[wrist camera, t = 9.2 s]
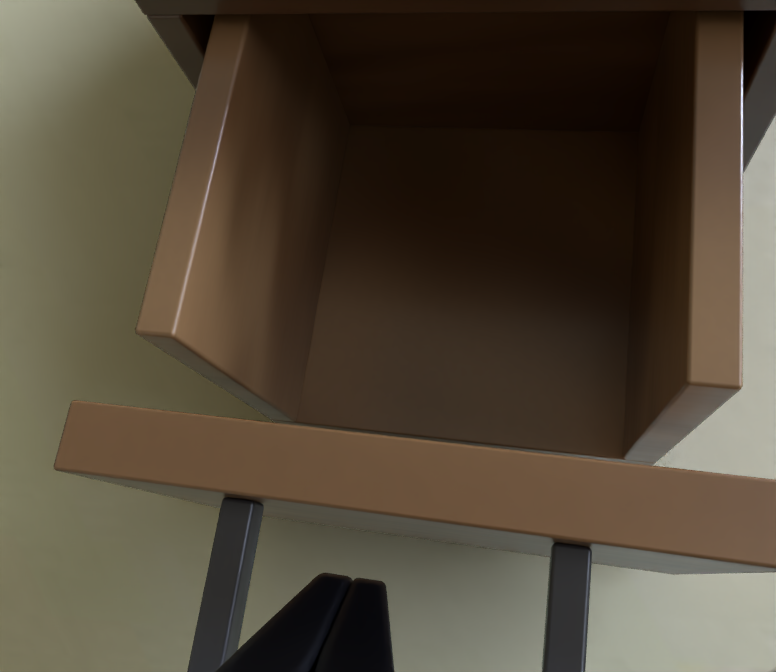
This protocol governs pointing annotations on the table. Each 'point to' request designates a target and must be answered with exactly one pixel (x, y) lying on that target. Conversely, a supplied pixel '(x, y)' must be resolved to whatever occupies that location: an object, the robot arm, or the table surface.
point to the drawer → (453, 296)
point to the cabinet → (760, 5)
